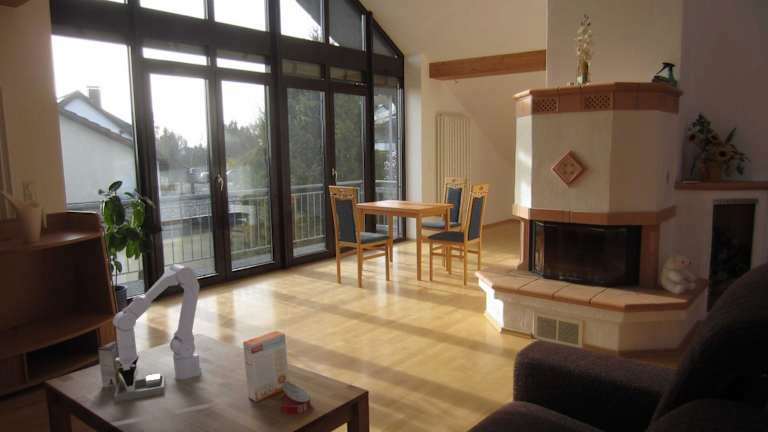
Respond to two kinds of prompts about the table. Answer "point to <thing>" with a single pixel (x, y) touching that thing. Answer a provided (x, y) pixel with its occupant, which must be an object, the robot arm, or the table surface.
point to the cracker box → (265, 365)
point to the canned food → (294, 399)
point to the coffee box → (110, 364)
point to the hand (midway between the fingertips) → (130, 381)
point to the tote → (138, 390)
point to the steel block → (153, 381)
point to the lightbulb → (132, 388)
